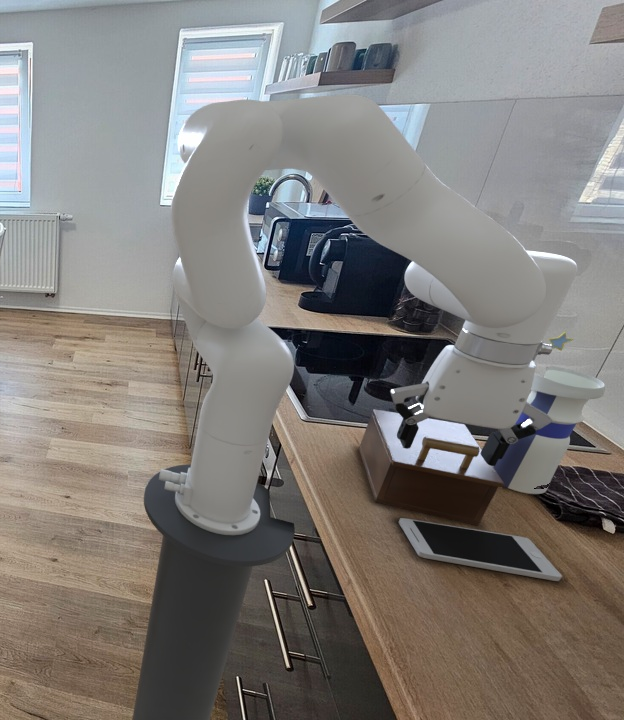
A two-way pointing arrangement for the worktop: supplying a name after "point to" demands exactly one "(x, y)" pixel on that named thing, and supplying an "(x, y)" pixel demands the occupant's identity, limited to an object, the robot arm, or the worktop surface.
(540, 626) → the worktop surface
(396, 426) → the chest lid
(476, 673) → the worktop surface
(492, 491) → the chest
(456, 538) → the smartphone
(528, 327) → the robot arm
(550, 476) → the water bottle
